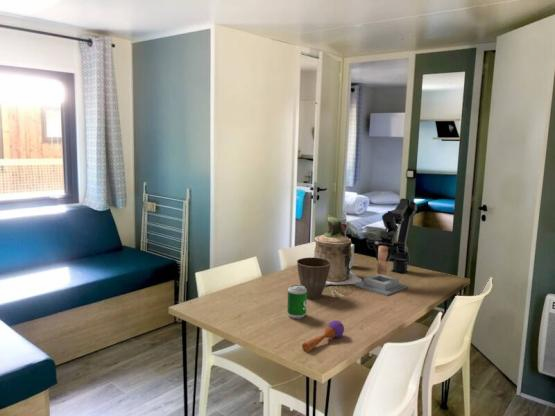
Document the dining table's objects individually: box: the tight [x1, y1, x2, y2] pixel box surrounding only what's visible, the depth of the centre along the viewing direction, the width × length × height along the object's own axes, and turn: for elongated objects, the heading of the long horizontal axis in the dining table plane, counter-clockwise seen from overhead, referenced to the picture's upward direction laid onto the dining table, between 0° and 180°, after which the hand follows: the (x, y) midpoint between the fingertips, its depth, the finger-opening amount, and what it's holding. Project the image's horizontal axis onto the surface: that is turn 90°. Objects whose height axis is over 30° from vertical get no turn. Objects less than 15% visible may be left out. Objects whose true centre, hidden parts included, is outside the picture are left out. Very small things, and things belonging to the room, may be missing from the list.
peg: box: [376, 246, 389, 276], centre depth 217 cm, size 4×4×13 cm
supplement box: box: [349, 243, 355, 270], centre depth 252 cm, size 7×7×13 cm
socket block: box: [354, 273, 408, 296], centre depth 219 cm, size 18×18×4 cm
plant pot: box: [296, 257, 330, 300], centre depth 203 cm, size 15×15×16 cm
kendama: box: [301, 319, 345, 353], centre depth 158 cm, size 6×6×20 cm
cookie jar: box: [313, 215, 363, 286], centre depth 230 cm, size 25×25×32 cm
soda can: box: [286, 284, 308, 320], centre depth 181 cm, size 8×8×12 cm
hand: (381, 260), depth 216 cm, fingers closed on peg, 4 cm apart
